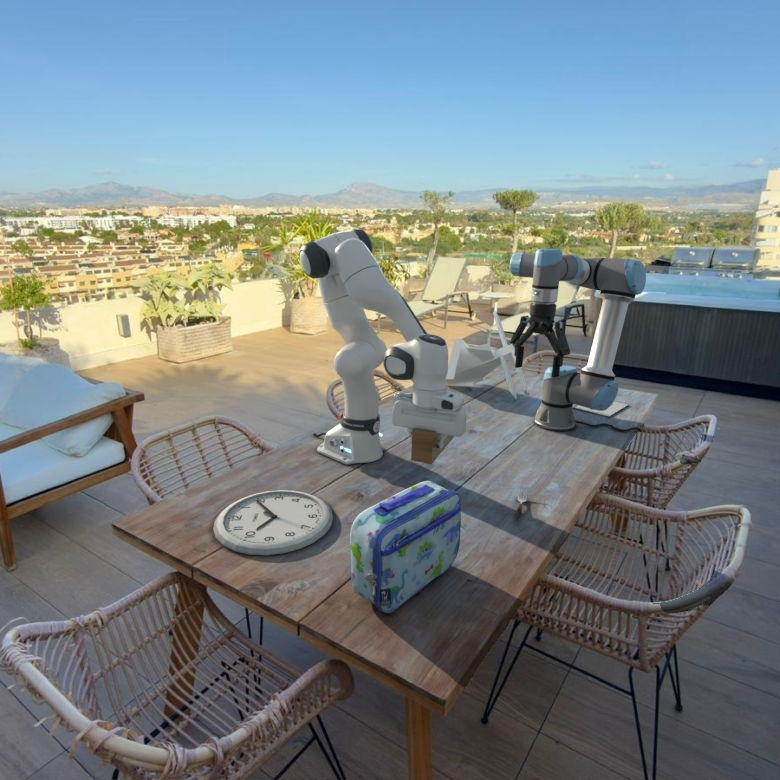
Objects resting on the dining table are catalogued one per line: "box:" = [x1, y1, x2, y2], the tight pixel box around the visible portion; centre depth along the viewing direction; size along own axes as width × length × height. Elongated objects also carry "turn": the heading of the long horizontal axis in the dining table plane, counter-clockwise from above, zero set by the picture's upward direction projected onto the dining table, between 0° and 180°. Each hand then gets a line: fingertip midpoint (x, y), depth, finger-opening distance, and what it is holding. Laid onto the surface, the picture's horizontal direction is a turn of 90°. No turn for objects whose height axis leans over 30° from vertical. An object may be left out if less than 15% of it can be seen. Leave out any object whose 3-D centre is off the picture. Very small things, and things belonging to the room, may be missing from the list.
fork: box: [516, 487, 529, 521], centre depth 143 cm, size 3×16×2 cm, turn 160°
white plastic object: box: [446, 310, 531, 400], centre depth 245 cm, size 37×45×31 cm
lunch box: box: [349, 480, 462, 614], centre depth 109 cm, size 26×11×21 cm, turn 134°
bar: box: [410, 428, 455, 465], centre depth 150 cm, size 28×6×8 cm, turn 157°
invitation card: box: [573, 401, 629, 418], centre depth 226 cm, size 21×1×15 cm
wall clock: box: [212, 489, 334, 556], centre depth 134 cm, size 30×2×30 cm
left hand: (427, 445), depth 141 cm, fingers closed on bar, 6 cm apart
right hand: (536, 371), depth 161 cm, fingers open, 13 cm apart
